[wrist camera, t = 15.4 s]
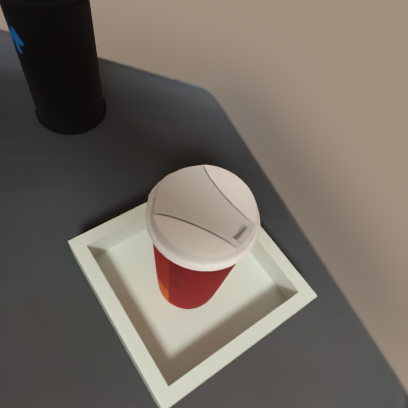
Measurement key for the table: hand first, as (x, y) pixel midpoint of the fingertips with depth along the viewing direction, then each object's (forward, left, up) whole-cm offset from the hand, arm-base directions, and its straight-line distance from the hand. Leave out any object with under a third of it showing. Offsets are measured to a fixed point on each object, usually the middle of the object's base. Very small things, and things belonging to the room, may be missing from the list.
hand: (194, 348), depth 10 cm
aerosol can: (-34, +8, -26) cm, 43 cm away
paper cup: (-8, +7, -25) cm, 27 cm away
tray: (-8, +8, -26) cm, 28 cm away
